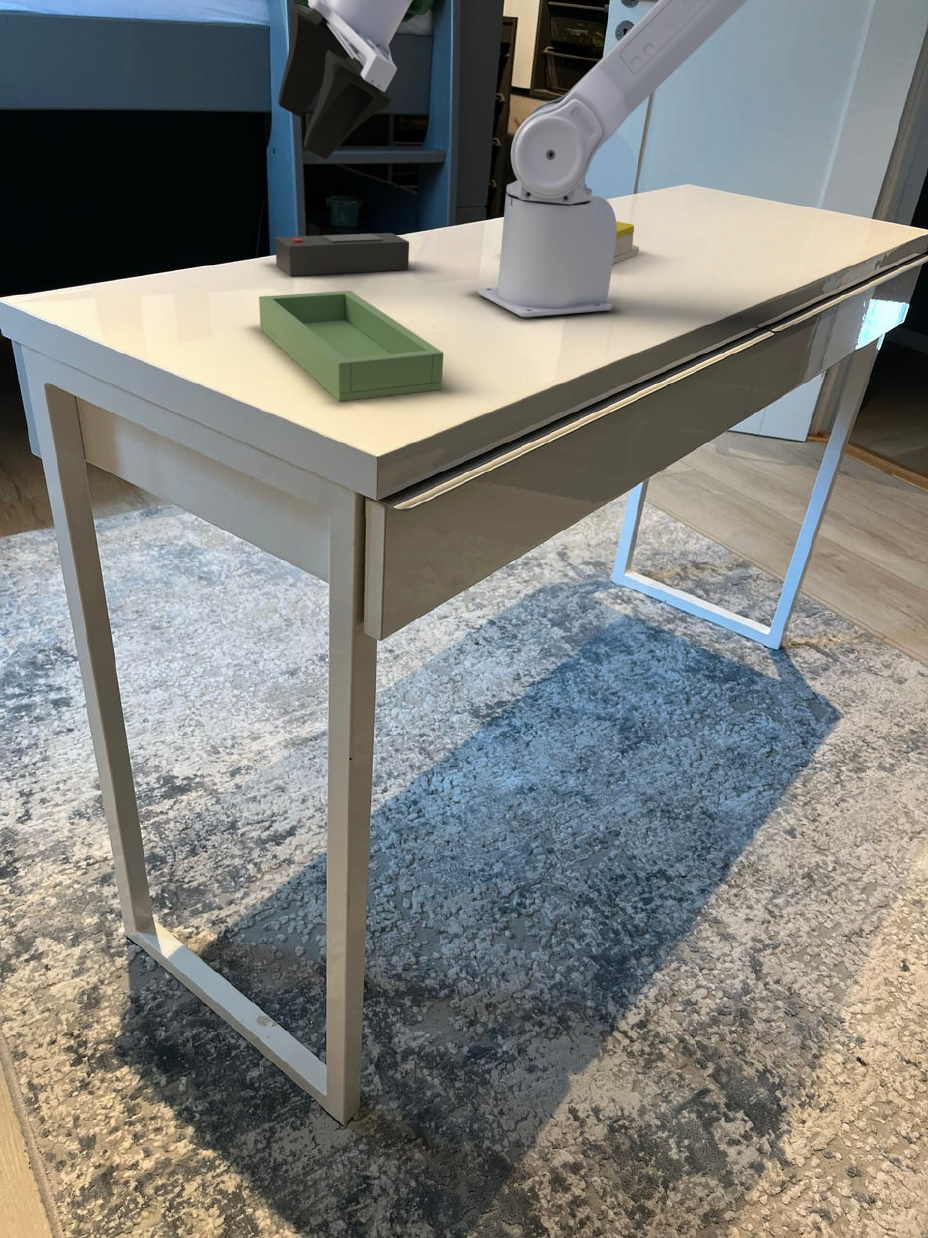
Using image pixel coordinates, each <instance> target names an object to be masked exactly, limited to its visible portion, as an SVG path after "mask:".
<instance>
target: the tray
mask: <svg viewBox="0 0 928 1238" xmlns="http://www.w3.org/2000/svg"><path fill="white" fill-rule="evenodd" d="M258 303H259V322H260V324H259V325H260V331H261V332H263V333H264V334H265V335H266V336H267V337H268V338H269V339H270V340H271V341H273V343H275V344H276V345H277V346H278V347H279V348H280V349H281V350H282V351H283V352H285V353H286V354H287V355H288V356H289V357H290V358H291V359H292V360H293V361H295V363H297V365H299V366H300V367H301V368H302V369H303V370H304V371H305V372H307V374H309V375H310V376H311V377H312V378H313V379H314V380H316V382H318V383H319V385H321V386H322V387H323V388H324V389H325V390H327V392H329V393H330V394H331V395H332V396H333V397H334V398H335V399H336V400H337V401H339V402H345V401H352V400H353V401H354V400H360V399H370V398H378V397H387V396H394V395H404V394H412V393H421V392H428V391H429V392H430V391H437V390H442V388H443V369H444V352H443V351H442V350H440V349H439V348H437V347H435V346H434V345H433V344H431V343H430V342H428V341H427V340H425V339H424V338H422V337H420V336H419V335H417V334H416V333H414V332H413V331H411V330H410V329H409V328H407V327H406V326H404V325H403V324H401V323H399V322H398V321H397V320H395V319H394V318H392V317H390V316H389V315H388V314H386V313H385V312H383V311H381V310H380V309H379V308H377V307H376V306H374V305H372V304H371V303H369V302H368V301H367V300H365V299H364V298H362V297H361V296H359V295H357V294H356V293H355V292H353V291H352V290H342V291H341V290H340V291H325V292H324V291H323V292H307V293H291V294H277V295H276V294H275V295H261V296H258Z"/></svg>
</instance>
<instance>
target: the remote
mask: <svg viewBox="0 0 928 1238" xmlns="http://www.w3.org/2000/svg"><path fill="white" fill-rule="evenodd" d="M274 239H275V264H276V267H277V268H279V269H280V270H282V271H283V272H284V273H286V274H287V275H289V276H290V277H298V276H299V277H300V276H318V275H335V274H352V273H354V274H355V273H356V274H357V273H373V272H390V271H392V272H393V271H408V270H409V262H410V261H409V260H410V259H409V258H410V241H408V240H406V239H404V238H403V237H400V236H399V235H396V234H395V233H392V232H381V233H378V232H377V233H360V234H359V233H355V234H354V233H352V234H350V233H349V234H331V235H330V234H326V235H324V234H323V235H322V234H321V235H300V236H299V235H296V236H295V235H293V236H276V237H275V238H274Z"/></svg>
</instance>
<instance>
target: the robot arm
mask: <svg viewBox="0 0 928 1238" xmlns="http://www.w3.org/2000/svg"><path fill="white" fill-rule="evenodd" d="M412 1H413V0H307V2H308V3H307V5H308V6H309V8H310V9H311V10H312V11H311V10H310V11H308V12H306V11H305V10H303V9H302V8H299V7H298V6H296V5H292V7H291V9H290V13H289V14H290V15H289V16H290V36H289V46H288V52H287V53H288V54H287V59H286V64H285V67H284V68H285V69H284V73H283V77H282V81H281V83H280V84H281V85H280V89H279V94H278V99H277V104H278V106H279V107H280V108H282V109H284V110H286V111H288V112H289V113H291V114H293V115H295V116H297V117H299V118H301V117H302V116H303V114H305V112H306V111H307V110H308V109H309V107H310V106H311V104H312V103H313V101H314V99H315V98H316V96H317V95H318V93H319V91H320V93H319V97H318V100H317V103H316V106H315V108H314V111H313V114H312V116H311V119H310V121H309V124H308V126H307V129H306V132H305V136H304V140H303V146H304V149H305V150H306V151H308V152H310V153H313V154H314V155H316V156H318V157H320V158H322V159H323V160H327V159H328V158H330V157H331V155H333V153H334V152H335V151H336V150H337V149H338V148H339V147H340V146H341V145H342V144H343V143H344V141H345V140H346V139H347V138H348V137H349V136H350V135H351V134H352V133H353V132H354V131H355V130H356V129H357V128H358V127H360V125H362V124H363V123H365V121H367V120H368V119H370V118H371V117H372V116H374V115H376V114H377V113H379V112H380V111H381V112H382V110H385V109H386V108H388V107H389V106H390V104H391V103H392V100H393V99H392V96H391V95H390V94H389V92H387V89H388V87H389V85H390V83H392V82H391V81H392V80H393V78H394V76H395V74H396V72H398V71H397V70H398V68H397V66H396V64H395V63H394V60H393V59H392V54H391V49H390V43H391V41H392V39H393V37H394V35H395V34H396V32H397V30H398V28H399V26H400V24H401V23H402V20H403V19H404V17H405V15H406V13H407V11H408V9H409V8H410V6H411V4H412ZM747 2H748V0H658V1H657V2H655V3H654V5H652V7H651V8H650V9H649V10H648V11H647V12H646V13H645V14H644V15H643V16H642V17H641V18H640V19H639V20H638V21H636V23H635V24H634V25H633V26H631V28H630V29H629V30H628V31H627V32H626V33H625V34H624V35H623V36H622V37H621V38H620V39H619V40H618V41H617V42H616V43H615V44H614V45H613V46H612V47H611V48H610V49H609V51H607V52H606V54H604V56H603V57H602V58H601V59H600V60H599V61H598V62H597V63H596V64H595V65H594V66H593V67H592V68H591V69H589V70H588V71H587V73H586V74H585V75H584V76H583V77H582V78H580V80H578V82H577V83H575V85H573V87H572V88H571V89H570V90H569V91H568V92H567V93H565V94H563V95H562V96H561V97H559V98H557V99H553V100H551V101H547V102H544V103H543V104H540V105H539V106H538V107H536V108H535V109H534V110H532V111H531V113H530V114H529V115H528V116H527V118H526V119H525V120H524V121H523V122H522V123H521V124H520V125H519V127H518V129H517V130H516V132H515V135H514V136H513V139H512V143H511V149H510V162H511V166H512V170H513V171H512V172H513V174H514V176H515V178H516V179H517V180H515V181H513V182H511V183H508V184H506V190H505V191H506V193H505V199H504V200H505V201H504V213H503V226H502V235H501V248H500V259H499V271H498V283H497V286H496V287H494V286H493V287H482V288H481V287H480V288H479V289H478V295H480V296H482V297H483V298H486V299H487V300H489V301H491V302H492V303H495V304H496V305H498V306H500V307H502V308H504V309H506V310H508V311H510V312H511V313H513V314H515V315H517V316H519V317H522V318H531V317H532V318H533V317H544V316H545V317H546V316H555V315H556V316H557V315H567V314H568V315H569V314H579V313H580V314H581V313H593V312H604V311H611V310H612V307H613V305H612V303H609V302H608V297H609V292H610V291H609V290H610V283H611V277H612V271H613V265H614V264H613V258H614V251H615V244H616V237H617V225H616V222H617V219H616V218H617V217H616V214H615V211H614V208H613V207H612V205H611V204H610V203H609V201H608V200H606V199H605V198H604V197H601V196H597V195H593V189H592V188H590V187H588V185H587V184H586V182H585V178H586V176H587V174H588V172H589V169H590V167H591V164H592V161H593V159H594V157H595V155H596V154H597V152H598V151H599V150H600V149H601V147H602V146H603V145H605V143H606V142H608V140H609V139H610V138H611V137H612V136H613V135H614V134H615V133H616V131H617V130H618V129H619V128H620V127H621V126H622V124H624V122H625V121H626V120H627V119H628V117H629V116H631V115H632V113H633V112H634V111H635V110H636V109H637V108H638V107H639V106H640V105H642V104H643V102H645V100H646V99H647V98H649V97H650V96H651V95H652V94H653V93H654V91H656V90H657V89H658V88H659V87H660V86H661V85H662V84H663V83H664V82H665V81H666V80H667V79H669V77H670V76H671V75H672V74H673V73H674V72H675V71H677V69H679V67H681V66H682V65H683V63H685V62H686V61H687V60H688V59H689V58H690V57H691V56H692V55H693V54H694V53H695V52H696V51H697V50H698V49H699V48H700V47H701V46H702V45H704V43H705V42H707V40H709V38H711V36H712V35H713V34H714V33H716V32H717V31H718V30H719V28H721V27H722V26H723V25H724V24H725V23H726V22H727V21H728V20H729V19H730V18H731V17H732V16H733V15H734V14H735V13H736V12H737V11H738V10H739V9H740V8H741V7H742V6H744V4H746V3H747ZM349 57H350V58H351V61H350V62H349V61H347V59H348V58H349Z"/></svg>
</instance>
